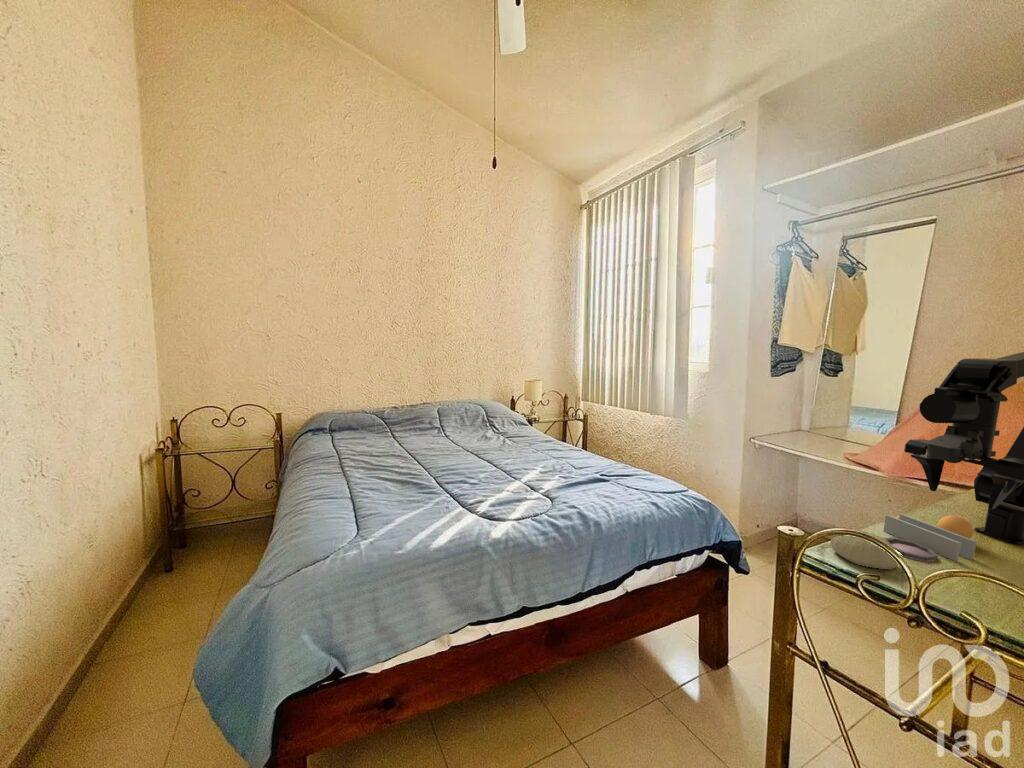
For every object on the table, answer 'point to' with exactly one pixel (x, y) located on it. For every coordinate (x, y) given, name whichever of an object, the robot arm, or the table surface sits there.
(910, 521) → the acrylic walls
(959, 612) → the table surface
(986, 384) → the robot arm
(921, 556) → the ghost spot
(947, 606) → the table surface
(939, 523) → the ball
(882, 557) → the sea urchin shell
